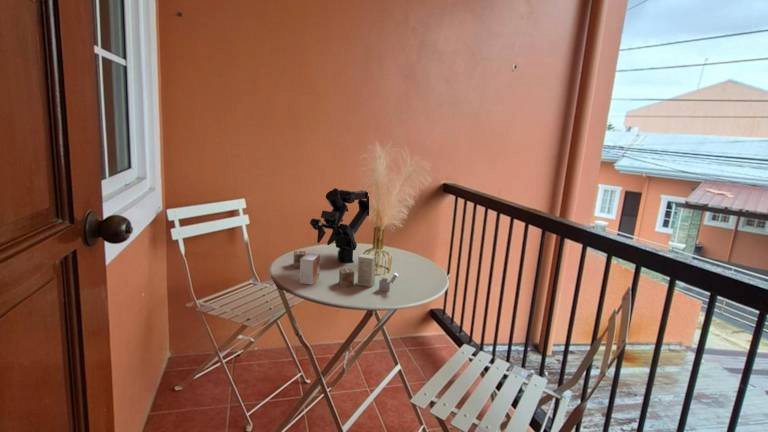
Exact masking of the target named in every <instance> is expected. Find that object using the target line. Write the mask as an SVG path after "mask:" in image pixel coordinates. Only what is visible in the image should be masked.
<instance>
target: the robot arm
mask: <svg viewBox="0 0 768 432" xmlns="http://www.w3.org/2000/svg"><path fill="white" fill-rule="evenodd" d="M368 192H369V191H368ZM368 192H367V190H356V191H351V190H344V189H338V188H335V187H334V188H333V189H332V190H328V192H326V195H325V199H326V200H327V203H328V204H329V205H330V207H331V208H332V209H331V211H329V210H322V211H321V215H320V219H319V218H311V219H310V221H309V224H310V226H311V227H312V228H313V230H315V231H317V239H316V243H317V244H320V242H321V241H322V240H323V238H324V237H325V235H326V233H327V232H326V230H325V229H329V230H331V231H332V232H331V234H330V236H329V239H328V240H327V244H326V245H327V246H331V244H332V243H335V247H336V248H338V250H337V260H338V261H339V263H345V264H346V263H354V260H353V259H354V257H353V256H354V251H356V249H357V247H358V246H357V245H358V244H357V242H356V241H355V240H356V237H355V235H356V234H357V232H358V230H359V229H360V228H361V226H362V224H363V223H364V221H365V220H366V218H367V217H368V216H370V215H369V196H368ZM355 201H357V204H358V211H357V212H356V214H355V216H354V217H353V218H352V219H351V221H350V222H349V224H346V223H343V222H344V219H343V218H344V216H345V214H346V212H349V208H348V205H347V204H350V205H351V204H353V203H355ZM321 219H323V222H322V220H321Z"/></svg>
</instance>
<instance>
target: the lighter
mask: <svg viewBox="0 0 768 432" xmlns="http://www.w3.org/2000/svg"><path fill="white" fill-rule="evenodd" d="M398 276H399V273H397V272H394V274H393V276H392V277H391V279H390V280H389V278H388V277H382V278H380V279H379V284H378V291H380V292H385V293H386V292H387V293H389V292H390V291H391V285H392V284H394V282H395V280H396V279H397V277H398Z"/></svg>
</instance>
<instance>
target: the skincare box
mask: <svg viewBox="0 0 768 432" xmlns="http://www.w3.org/2000/svg"><path fill="white" fill-rule="evenodd" d="M357 260H358V261H357V285H358V286H364V287H369V288H372V286H374V285H375V281H376V255H372V254H365V253H361V254H360V255H359V256H358V259H357Z"/></svg>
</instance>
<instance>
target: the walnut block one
mask: <svg viewBox="0 0 768 432" xmlns="http://www.w3.org/2000/svg"><path fill="white" fill-rule="evenodd" d="M352 268H353V267H352ZM352 268H351V267H349V268H348V267H347V268H339V273H338V276H339V277H338V284H339V285H340V287H341V288H348V287H349V288H350V287H354V284H355V271H354V270H353V269H352Z"/></svg>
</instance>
